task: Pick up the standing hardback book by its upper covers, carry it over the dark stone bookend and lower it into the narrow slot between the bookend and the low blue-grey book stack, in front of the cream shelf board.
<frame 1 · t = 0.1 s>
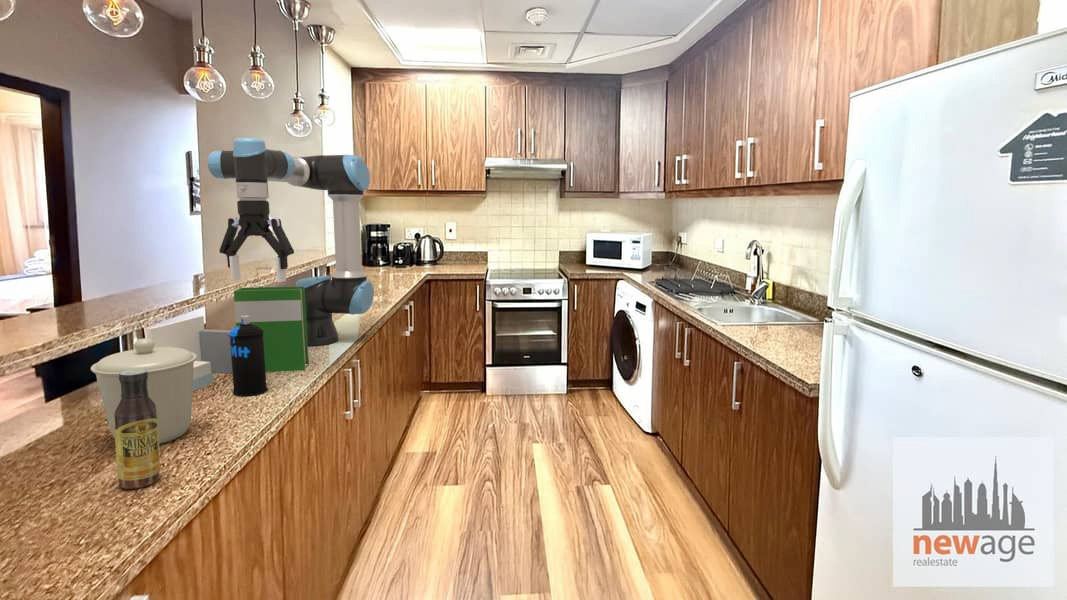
hand: (258, 281, 157), 28 cm above the countertop, tool pointing down, fingers open, 13 cm apart
bookend: (222, 371, 172), on the countertop
aerosol can: (250, 392, 154), on the countertop
canister: (153, 438, 123), on the countertop
sauce bottle: (141, 483, 103), on the countertop
shelf back board: (181, 378, 165), on the countertop
book stack block: (184, 386, 158), on the countertop
hardback book: (275, 369, 176), on the countertop
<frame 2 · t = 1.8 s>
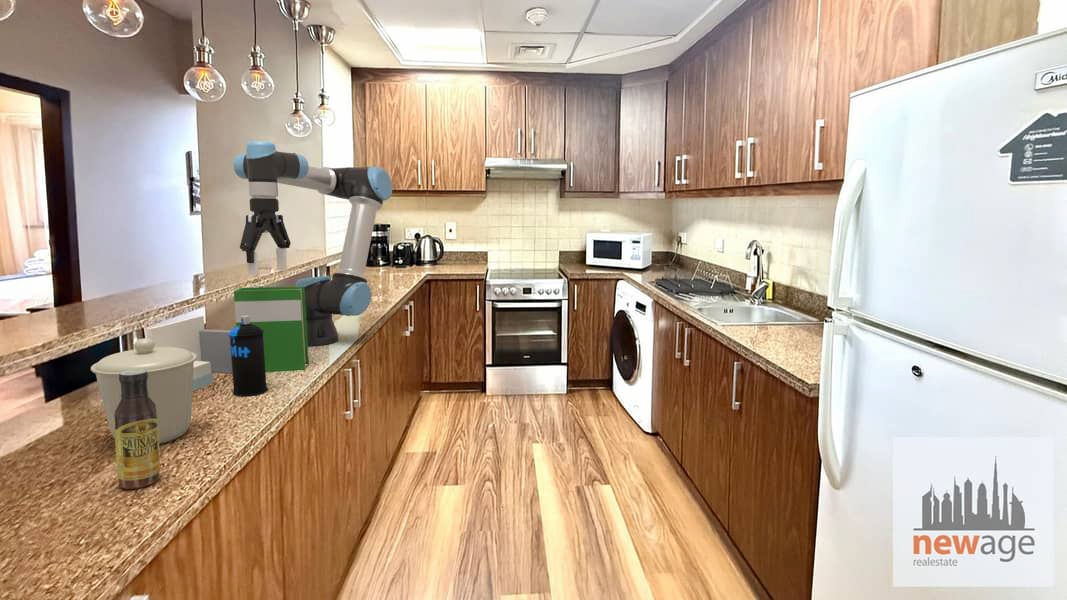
hand: (268, 272, 171), 29 cm above the countertop, tool pointing down, fingers open, 13 cm apart
nothing on the countertop moved.
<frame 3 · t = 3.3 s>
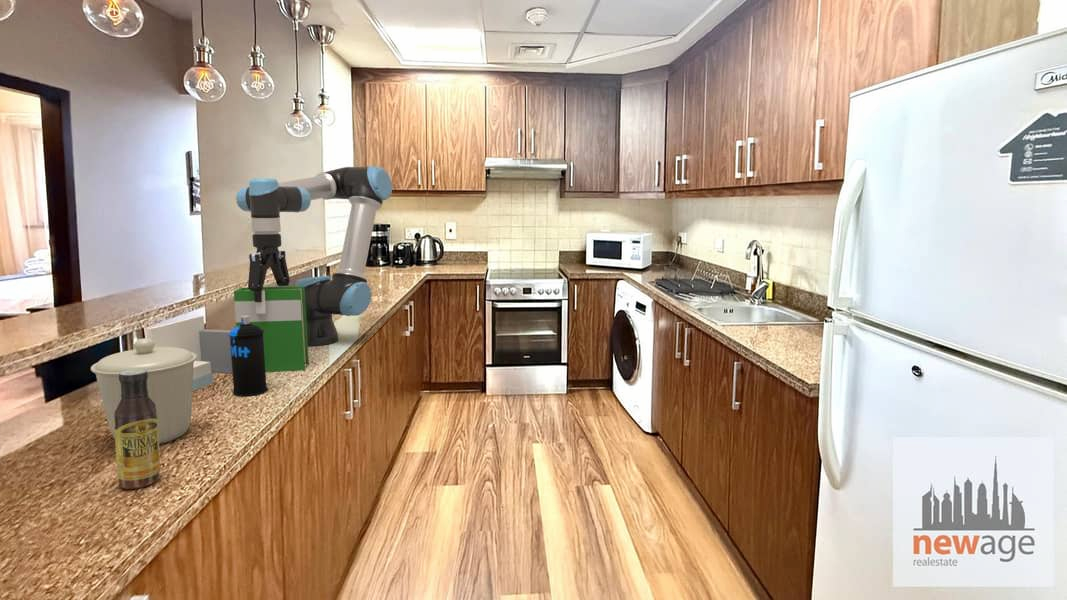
hand: (271, 310, 173), 18 cm above the countertop, tool pointing down, fingers closed on hardback book, 9 cm apart
hardback book: (275, 369, 176), on the countertop, touching gripper
everything else where it was.
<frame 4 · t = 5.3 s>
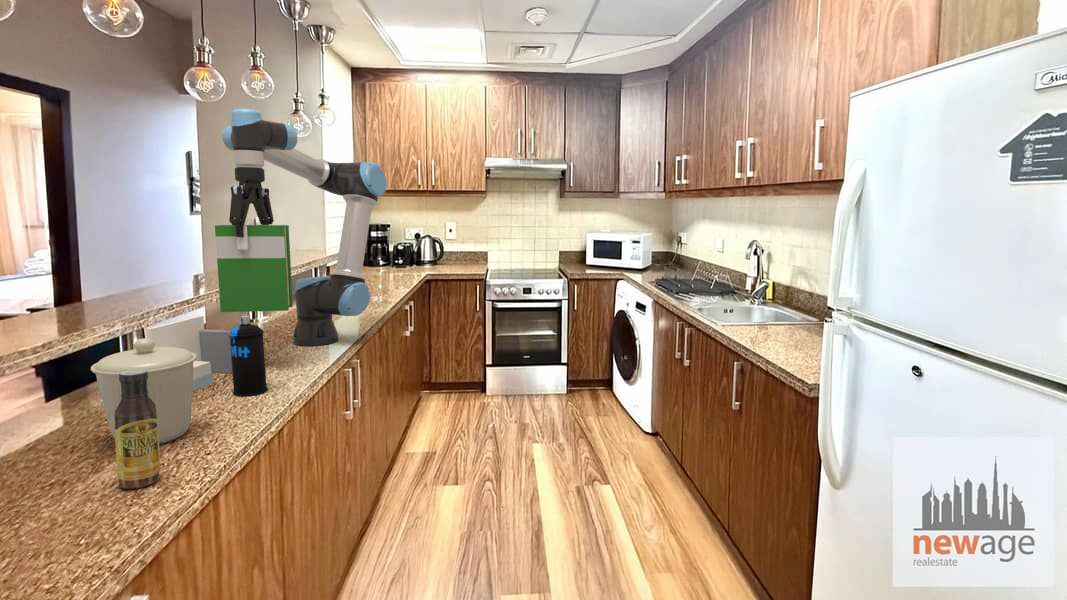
hand: (254, 248, 168), 36 cm above the countertop, tool pointing down, fingers closed on hardback book, 9 cm apart
hardback book: (257, 310, 170), point 18 cm above the countertop, touching gripper
everything else where it was.
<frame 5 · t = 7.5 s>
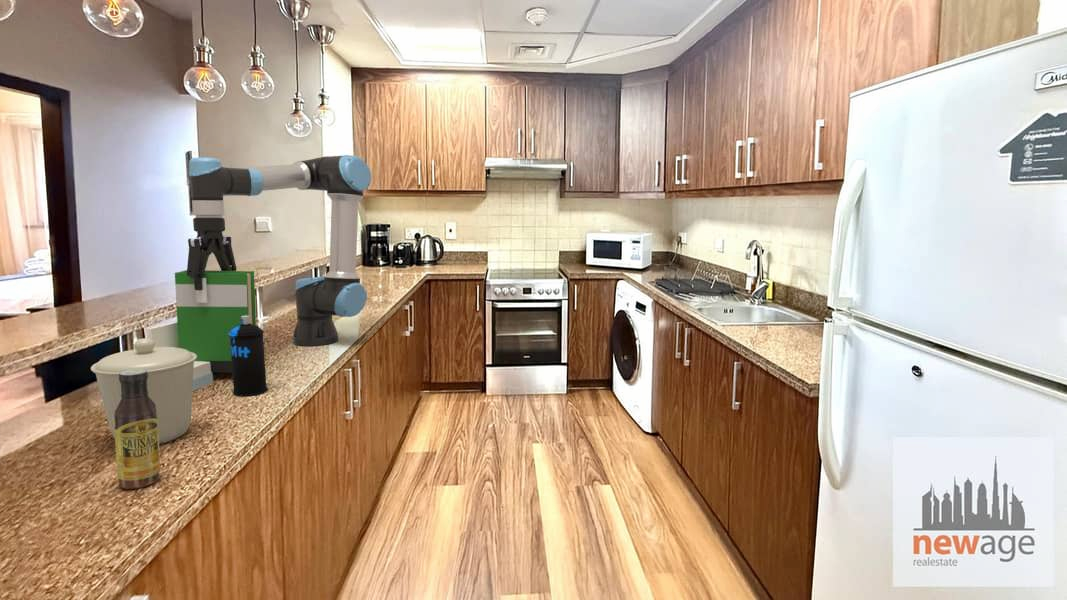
hand: (214, 299, 162), 22 cm above the countertop, tool pointing down, fingers closed on hardback book, 9 cm apart
hardback book: (219, 358, 165), point 6 cm above the countertop, touching book stack block, gripper
everything else where it was.
when the fingers open (19 cm above the countertop, at t = 8.6 s): hardback book stays where it is, resting on book stack block.
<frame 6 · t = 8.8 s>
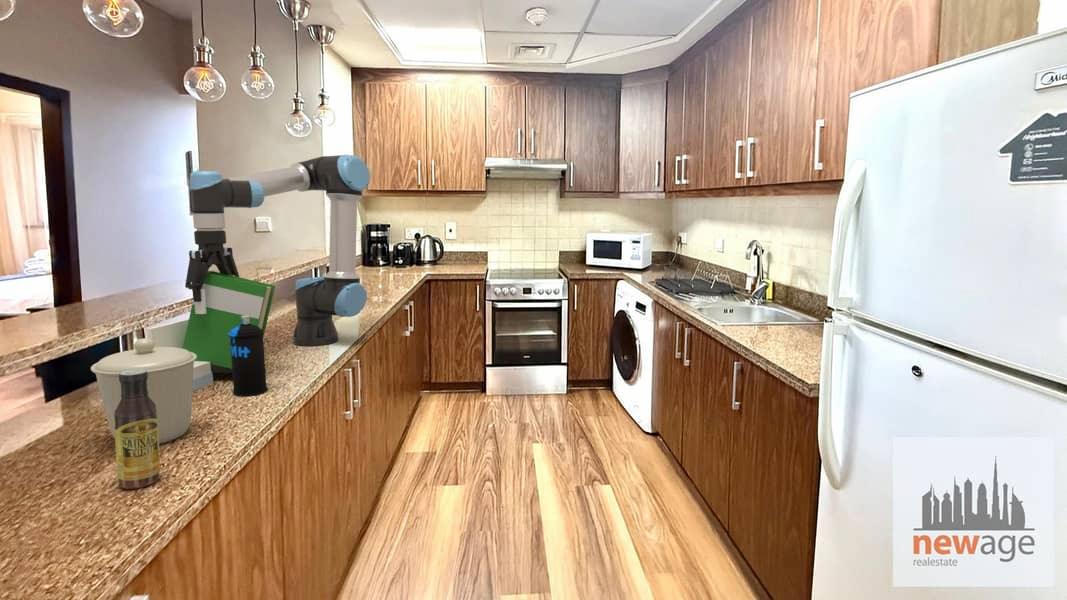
hand: (216, 310, 163), 19 cm above the countertop, tool pointing down, fingers open, 11 cm apart
hardback book: (219, 363, 165), point 4 cm above the countertop, touching book stack block, gripper
everything else where it was.
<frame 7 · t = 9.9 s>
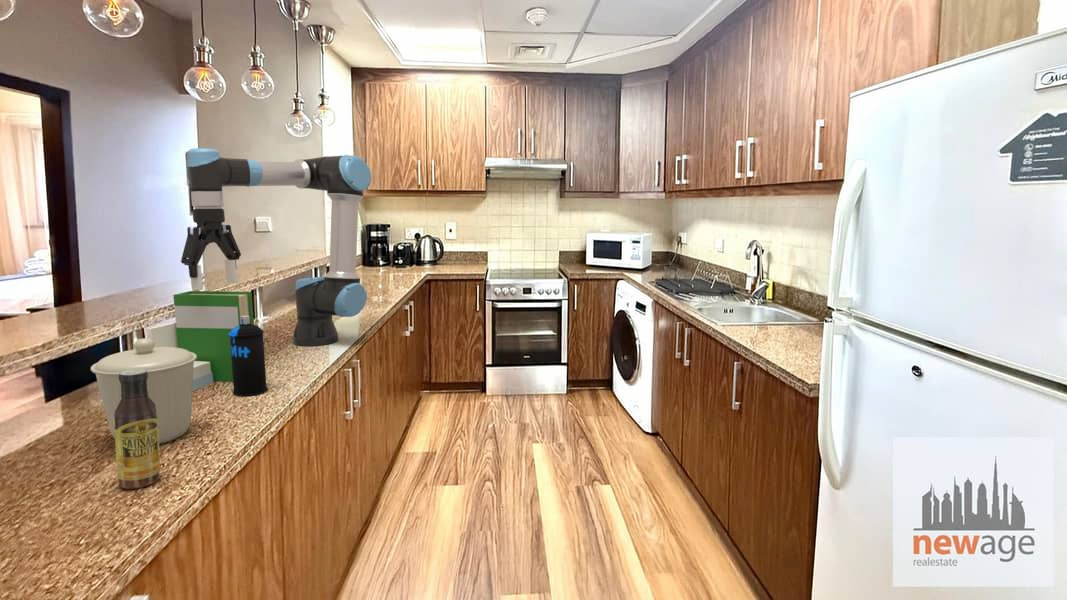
hand: (215, 286, 162), 26 cm above the countertop, tool pointing down, fingers open, 13 cm apart
hardback book: (220, 378, 166), on the countertop
everything else where it was.
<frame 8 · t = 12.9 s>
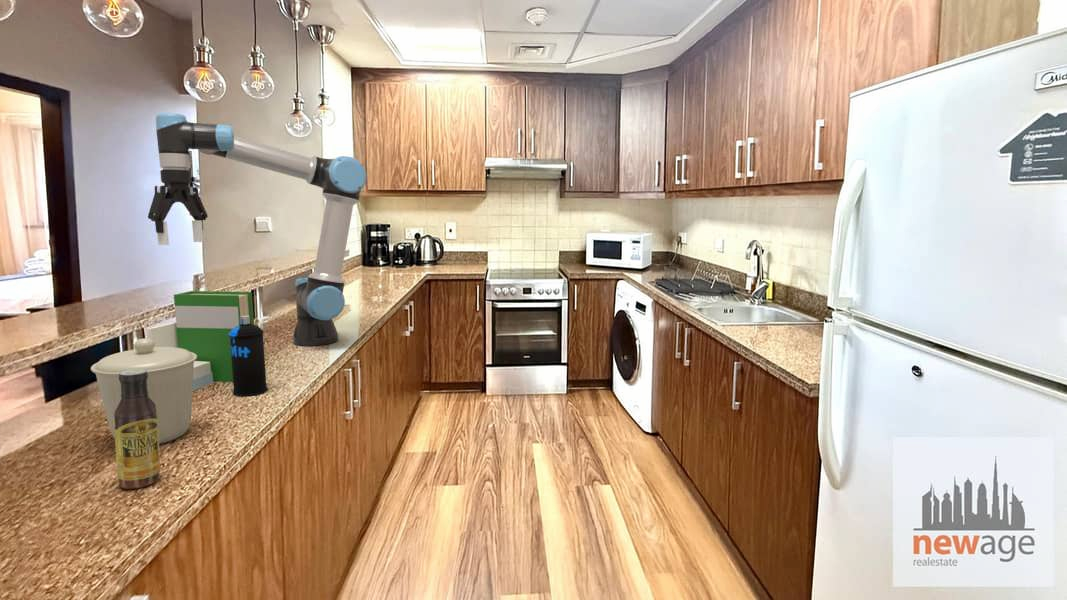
hand: (181, 243, 174), 37 cm above the countertop, tool pointing down, fingers open, 13 cm apart
nothing on the countertop moved.
at the end: hardback book inside the target area (0.7 cm from its centre), on the countertop; hardback book tilted 0°; the gripper is holding nothing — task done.
